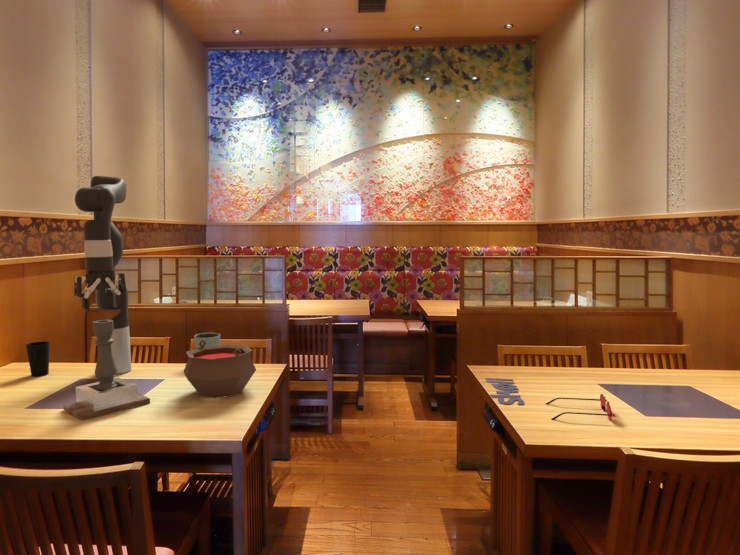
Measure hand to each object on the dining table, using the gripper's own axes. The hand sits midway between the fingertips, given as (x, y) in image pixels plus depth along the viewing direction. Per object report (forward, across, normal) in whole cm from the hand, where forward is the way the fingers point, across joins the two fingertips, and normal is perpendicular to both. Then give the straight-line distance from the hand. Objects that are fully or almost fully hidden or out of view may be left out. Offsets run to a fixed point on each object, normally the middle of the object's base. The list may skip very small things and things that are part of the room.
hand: (101, 309), depth 162 cm
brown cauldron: (+30, -31, +14) cm, 46 cm away
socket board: (+30, 0, 0) cm, 30 cm away
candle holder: (+29, 0, 0) cm, 29 cm away
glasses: (+31, -84, +113) cm, 144 cm away
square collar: (+29, 0, 0) cm, 29 cm away
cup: (+31, 0, -59) cm, 67 cm away
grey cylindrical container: (+31, -49, -22) cm, 62 cm away
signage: (+31, -90, +87) cm, 129 cm away
